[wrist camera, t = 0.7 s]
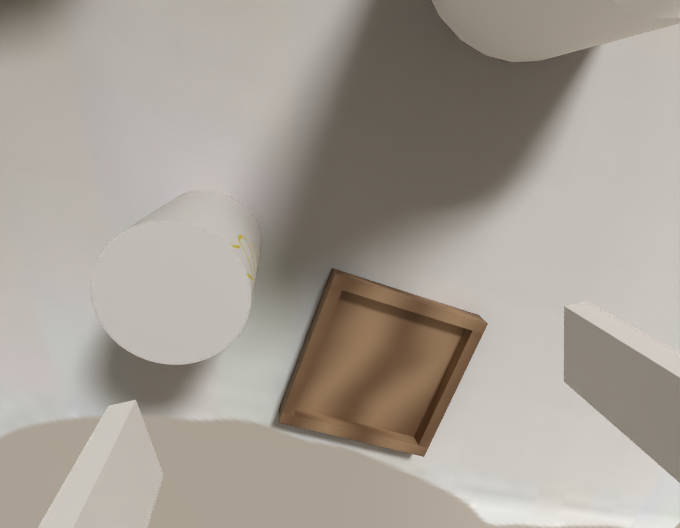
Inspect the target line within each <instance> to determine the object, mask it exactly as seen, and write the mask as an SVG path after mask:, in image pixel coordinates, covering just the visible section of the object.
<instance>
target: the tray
mask: <svg viewBox="0 0 680 528" xmlns="http://www.w3.org/2000/svg"><path fill="white" fill-rule="evenodd" d="M487 324H488V323H487V322H485V321H484V320H483V319H482V318H481V317H480V316H479V315H476V314H473V313H470V312H467V311H464V310H461V309H458V308H454V307H451V306H448V305H445V304H442V303H439V302H436V301H433V300H429V299H426V298H423V297H420V296H417V295H414V294H411V293H408V292H404V291H401V290H398V289H395V288H392V287H389V286H386V285H383V284H379V283H376V282H373V281H370V280H367V279H364V278H361V277H358V276H354V275H351V274H348V273H345V272H342V271H339V270H336V269H332V271H331V273H330V276H329V279H328V281H327V284H326V287H325V289H324V292H323V295H322V297H321V300H320V303H319V305H318V308H317V311H316V313H315V316H314V319H313V321H312V324H311V327H310V329H309V332H308V334H307V337H306V340H305V342H304V345H303V348H302V350H301V353H300V356H299V358H298V361H297V364H296V366H295V369H294V372H293V374H292V377H291V380H290V382H289V385H288V388H287V390H286V393H285V396H284V398H283V401H282V403H281V406H280V409H279V423H283V424H287V425H291V426H296V427H300V428H304V429H308V430H313V431H317V432H321V433H325V434H330V435H334V436H338V437H342V438H347V439H351V440H355V441H359V442H364V443H368V444H372V445H376V446H381V447H385V448H389V449H393V450H398V451H402V452H406V453H410V454H415V455H419V456H423V457H424V456H425V453H426V451H427V449H428V447H429V445H430V443H431V441H432V439H433V437H434V435H435V433H436V431H437V428H438V426H439V424H440V422H441V420H442V418H443V416H444V414H445V412H446V410H447V408H448V406H449V403H450V401H451V399H452V397H453V395H454V393H455V391H456V389H457V387H458V385H459V383H460V380H461V378H462V376H463V374H464V372H465V370H466V368H467V366H468V364H469V362H470V360H471V358H472V355H473V353H474V351H475V349H476V347H477V345H478V343H479V341H480V339H481V337H482V335H483V333H484V330H485V328H486V326H487Z"/></svg>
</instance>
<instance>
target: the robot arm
mask: <svg viewBox="0 0 680 528" xmlns="http://www.w3.org/2000/svg"><path fill="white" fill-rule="evenodd" d="M564 382H565V383H566V384H568V385H569V386H570V387H571V388H572V389H573V390H574V391H576V392H577V393H578V394H579V395H580V396H581V397H582V398H584V399H585V400H586V401H587V402H588V403H589V404H590V405H592V406H593V407H594V408H595V409H596V410H597V411H598V412H600V413H601V414H602V415H603V416H604V417H605V418H606V419H608V420H609V421H610V422H611V423H612V424H613V425H614V426H616V427H617V428H618V429H619V430H620V431H621V432H622V433H624V434H625V435H626V436H627V437H628V438H629V439H630V440H632V441H633V442H634V443H635V444H636V445H637V446H638V447H640V448H641V449H642V450H643V451H644V452H645V453H646V454H648V455H649V456H650V457H651V458H652V459H653V460H654V461H656V462H657V463H658V464H659V465H660V466H661V467H662V468H664V469H665V470H666V471H667V472H668V473H669V474H670V475H672V476H673V477H674V478H675V479H676V480H677V481H678V482H680V353H679V352H677V351H675V350H674V349H672V348H670V347H668V346H666V345H665V344H663V343H661V342H659V341H657V340H656V339H654V338H652V337H650V336H648V335H647V334H645V333H643V332H641V331H640V330H638V329H636V328H634V327H632V326H631V325H629V324H627V323H625V322H623V321H622V320H620V319H618V318H616V317H614V316H613V315H611V314H609V313H607V312H605V311H604V310H602V309H600V308H598V307H597V306H595V305H593V304H591V303H589V302H588V301H586V302H581V303H577V304H572V305H567V306H564ZM162 478H163V473H162V470H161V468H160V465H159V462H158V459H157V456H156V454H155V451H154V448H153V446H152V443H151V440H150V437H149V435H148V432H147V429H146V426H145V424H144V420H143V418H142V415H141V412H140V409H139V407H138V404H137V401H136V400H132V401H128V402H123V403H119V404H114V405H110V406H108V407H107V409H106V411H105V413H104V414H103V416H102V418H101V420H100V421H99V423H98V425H97V426H96V429H95V430H94V432H93V434H92V435H91V437H90V439H89V440H88V442H87V444H86V445H85V447H84V449H83V451H82V452H81V454H80V456H79V458H78V460H77V461H76V463H75V465H74V466H73V468H72V470H71V471H70V473H69V475H68V477H67V478H66V480H65V482H64V484H63V485H62V487H61V489H60V490H59V492H58V494H57V496H56V498H55V499H54V501H53V503H52V504H51V506H50V508H49V510H48V511H47V513H46V515H45V516H44V518H43V520H42V522H41V523H40V525H39V527H38V528H147V527H148V523H149V521H150V517H151V514H152V511H153V508H154V504H155V501H156V498H157V495H158V491H159V488H160V485H161V481H162Z"/></svg>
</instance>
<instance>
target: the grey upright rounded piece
mask: <svg viewBox="0 0 680 528" xmlns="http://www.w3.org/2000/svg"><path fill="white" fill-rule="evenodd" d="M260 252H261V233H260V229H259V226H258V224H257V221H256V219H255V218H254V216H253V214H252V213H251V212H250V210H249V209H248V208H247V207H246V206H245V205H244V204H243V203H241V202H240V201H239V200H237V199H236V198H234V197H232V196H230V195H228V194H226V193H223V192H219V191H215V190H196V191H191V192H188V193H185V194H183V195H181V196H179V197H177V198H175V199H174V200H172V201H171V202H169V203H168V204H166V205H164V206H163V207H161V208H160V209H158V210H156V211H155V212H153V213H152V214H150V215H148V216H147V217H145V218H144V219H142V220H141V221H139V222H137V223H136V224H134V225H133V226H131V227H129V228H128V229H126V230H125V231H123V232H122V233H120V234H119V235H117V236H116V237H115V238H114V239H112V240H111V241H110V242H109V243H108V244H107V245H106V247H105V248H104V249H103V251H102V252H101V253H100V255H99V257H98V259H97V261H96V263H95V265H94V268H93V272H92V276H91V284H90V293H91V300H92V305H93V308H94V311H95V314H96V316H97V318H98V320H99V322H100V324H101V325H102V327H103V328H104V330H105V331H106V332H107V334H108V335H109V336H110V337H111V338H112V339H113V340H114V341H115V342H116V343H117V344H118V345H120V346H121V347H122V348H124V349H125V350H127V351H128V352H130V353H132V354H134V355H136V356H138V357H140V358H142V359H145V360H148V361H151V362H155V363H160V364H168V365H183V364H191V363H195V362H199V361H203V360H205V359H208V358H210V357H212V356H214V355H216V354H218V353H220V352H221V351H223V350H224V349H225V348H226V347H228V346H229V345H230V344H231V343H232V342H233V341H234V340H235V339H236V338H237V336H238V335H239V334H240V332H241V331H242V329H243V327H244V325H245V323H246V321H247V318H248V315H249V312H250V307H251V301H252V296H253V290H254V285H255V280H256V274H257V269H258V263H259V258H260Z"/></svg>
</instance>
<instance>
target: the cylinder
mask: <svg viewBox="0 0 680 528" xmlns="http://www.w3.org/2000/svg"><path fill="white" fill-rule="evenodd" d="M431 1H432V3H433V5H434V7H435V8H436V10H437V12H438V14H439V16H440V18H441V19H442V20H443V21H444V22H445V23H446V24H447V26H448V27H449V28H450V29H451V30H452V31H453V32H454V33H455V34H456V36H457V37H458V38H459V39H460V40H461V41H463V42H464V43H466V44H468V45H469V46H471V47H473V48H474V49H476V50H477V51H479V52H481V53H482V54H484V55H486V56H490V57H494V58H497V59H501V60H505V61H509V62H529V61H542V60H546V59H549V58H553V57H557V56H560V55H564V54H568V53H571V52H575V51H579V50H582V49H586V48H590V47H593V46H597V45H601V44H604V43H608V42H612V41H616V40H619V39H623V38H627V37H630V36H634V35H638V34H641V33H645V32H649V31H652V30H656V29H660V28H663V27H667V26H671V25H674V24H678V23H680V0H431Z"/></svg>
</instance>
